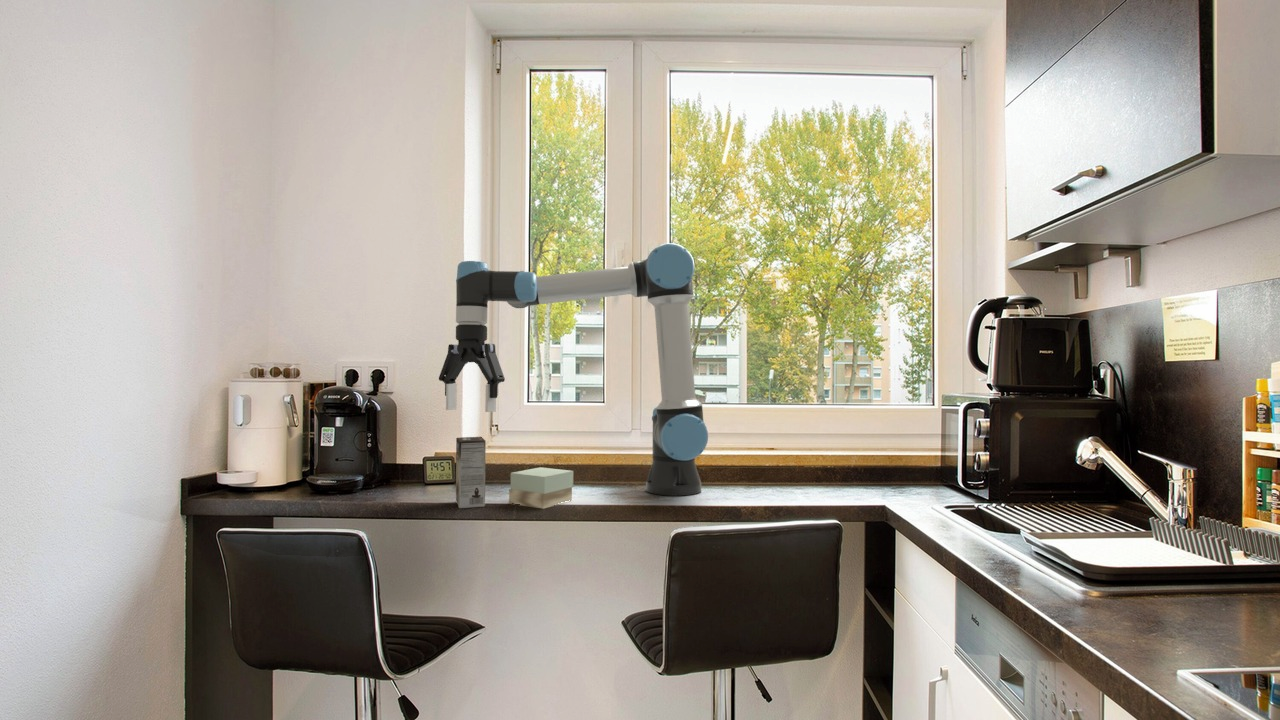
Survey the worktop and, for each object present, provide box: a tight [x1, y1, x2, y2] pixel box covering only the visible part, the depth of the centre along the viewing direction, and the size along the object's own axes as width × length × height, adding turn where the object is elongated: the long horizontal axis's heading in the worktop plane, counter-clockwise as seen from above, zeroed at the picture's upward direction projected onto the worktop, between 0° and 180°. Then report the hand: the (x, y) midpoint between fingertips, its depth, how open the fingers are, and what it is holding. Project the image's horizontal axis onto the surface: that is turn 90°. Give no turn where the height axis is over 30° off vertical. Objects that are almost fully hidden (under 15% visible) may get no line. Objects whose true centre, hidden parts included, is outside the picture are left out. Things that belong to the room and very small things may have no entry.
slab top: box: [510, 466, 574, 494], centre depth 158 cm, size 11×11×4 cm
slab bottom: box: [508, 487, 573, 509], centre depth 158 cm, size 11×11×4 cm
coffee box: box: [455, 436, 487, 509], centre depth 155 cm, size 9×6×16 cm
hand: (470, 410), depth 156 cm, fingers open, 13 cm apart
